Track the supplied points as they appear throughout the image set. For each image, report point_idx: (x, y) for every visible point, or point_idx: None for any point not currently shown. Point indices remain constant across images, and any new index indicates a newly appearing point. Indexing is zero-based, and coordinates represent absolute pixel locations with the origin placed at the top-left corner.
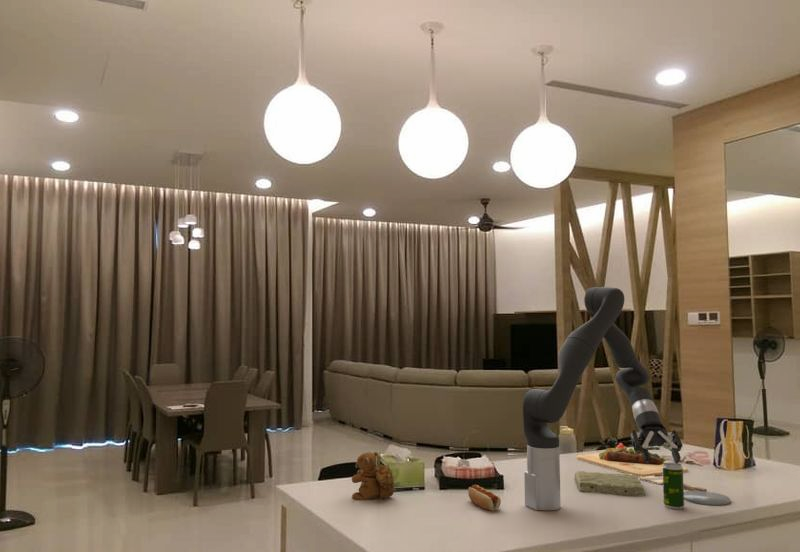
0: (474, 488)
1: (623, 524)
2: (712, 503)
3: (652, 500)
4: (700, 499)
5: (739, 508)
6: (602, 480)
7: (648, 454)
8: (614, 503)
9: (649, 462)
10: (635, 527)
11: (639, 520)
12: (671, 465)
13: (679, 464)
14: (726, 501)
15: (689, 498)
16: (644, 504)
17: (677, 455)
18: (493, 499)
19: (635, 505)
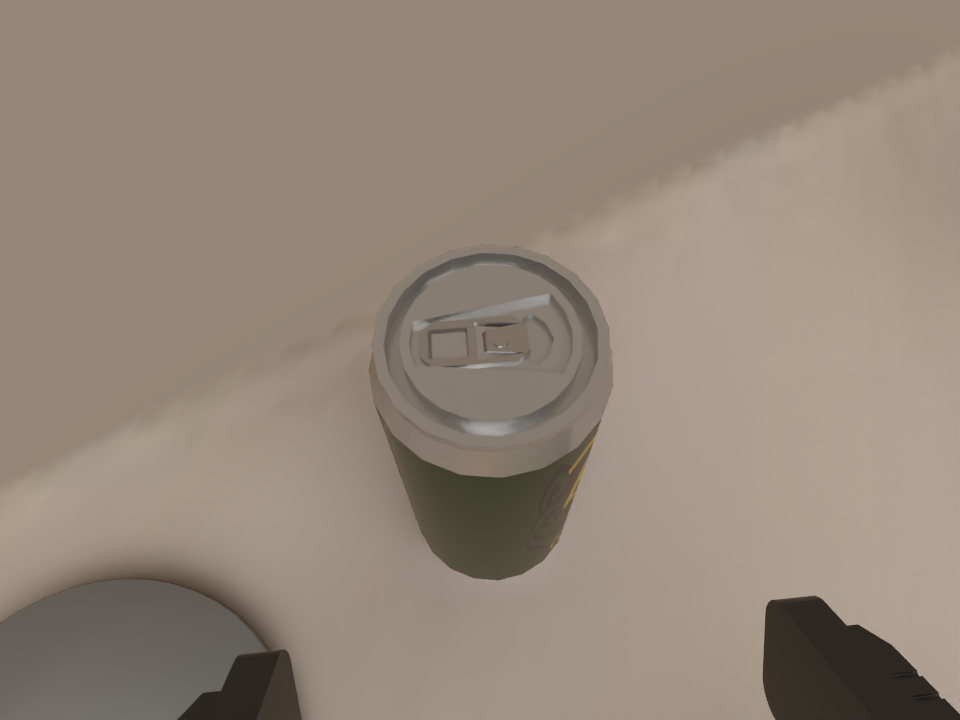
0: None
1: (860, 158)
2: (153, 580)
3: (621, 706)
4: (196, 673)
5: (5, 514)
6: None
7: (850, 657)
8: (954, 566)
9: (771, 664)
10: (800, 128)
11: (775, 218)
12: (529, 274)
13: (388, 365)
14: (3, 622)
15: None
16: (710, 558)
17: (230, 705)
18: None
19: (784, 522)
